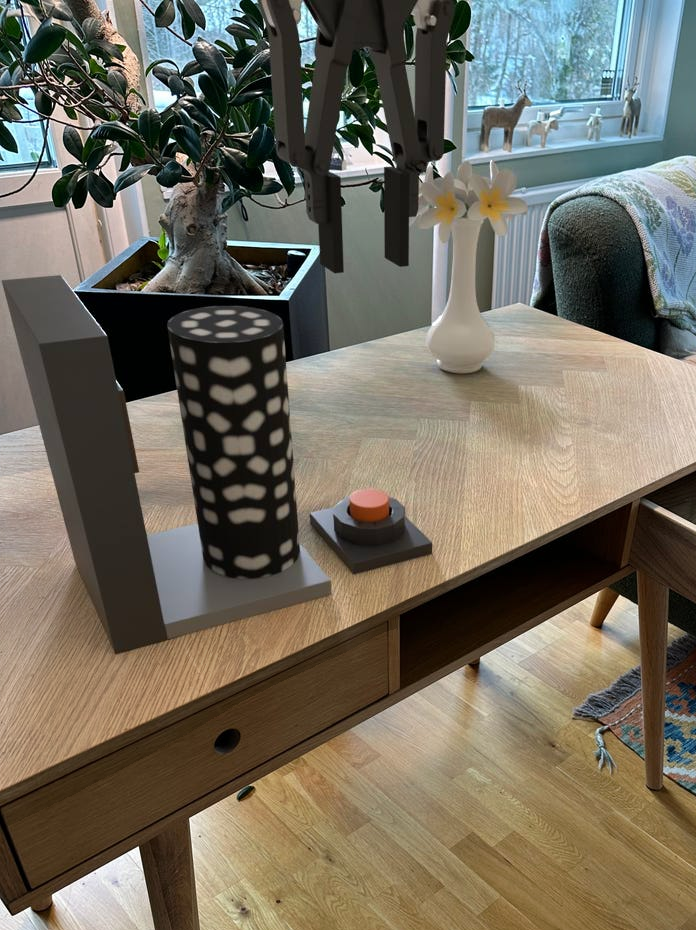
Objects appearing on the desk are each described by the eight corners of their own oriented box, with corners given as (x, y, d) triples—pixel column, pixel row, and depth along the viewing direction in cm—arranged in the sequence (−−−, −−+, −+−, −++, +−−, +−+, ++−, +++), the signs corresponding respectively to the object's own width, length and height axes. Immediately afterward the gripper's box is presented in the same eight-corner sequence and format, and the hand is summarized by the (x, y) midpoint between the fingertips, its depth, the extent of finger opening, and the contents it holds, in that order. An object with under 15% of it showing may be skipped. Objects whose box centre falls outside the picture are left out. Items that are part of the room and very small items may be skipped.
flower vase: (422, 338, 128) (426, 144, 113) (535, 367, 122) (555, 164, 106) (370, 363, 119) (367, 155, 104) (489, 396, 112) (503, 179, 97)
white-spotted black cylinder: (249, 519, 82) (224, 299, 70) (319, 547, 79) (306, 321, 67) (182, 558, 76) (142, 324, 64) (255, 590, 73) (227, 351, 61)
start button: (343, 510, 82) (343, 493, 81) (378, 502, 84) (378, 485, 83) (360, 527, 80) (359, 510, 79) (395, 519, 81) (395, 502, 80)
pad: (309, 523, 85) (307, 495, 83) (384, 506, 88) (384, 479, 87) (353, 574, 78) (352, 546, 77) (432, 553, 82) (433, 525, 80)
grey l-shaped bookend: (75, 565, 77) (1, 280, 62) (272, 520, 85) (247, 258, 70) (115, 654, 68) (38, 343, 53) (331, 594, 76) (316, 310, 61)
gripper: (452, -116, 61) (441, 244, 75) (194, -147, 53) (236, 262, 67) (511, -119, 56) (487, 267, 70) (236, -153, 48) (272, 290, 62)
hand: (364, 264), depth 68 cm, fingers open, 5 cm apart
